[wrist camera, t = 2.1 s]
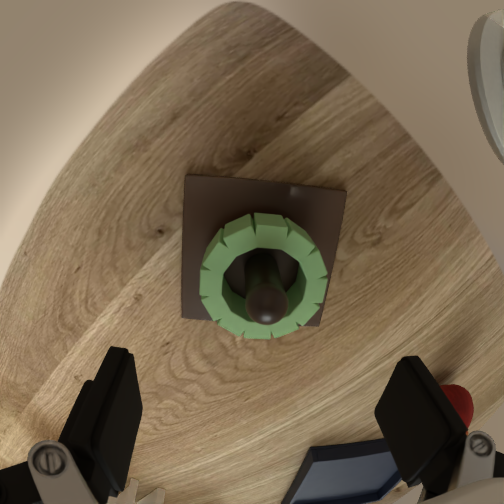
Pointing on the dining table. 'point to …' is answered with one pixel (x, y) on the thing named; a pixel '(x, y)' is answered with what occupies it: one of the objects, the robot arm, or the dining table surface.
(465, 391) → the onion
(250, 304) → the stand
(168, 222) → the dining table surface
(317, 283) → the ring
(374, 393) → the dining table surface
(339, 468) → the tray
